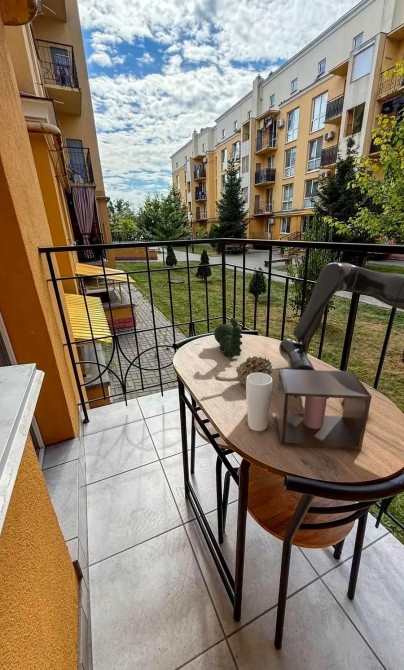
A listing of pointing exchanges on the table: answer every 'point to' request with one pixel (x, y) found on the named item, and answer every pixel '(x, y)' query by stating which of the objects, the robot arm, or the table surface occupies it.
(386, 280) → the robot arm
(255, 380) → the drinking glass
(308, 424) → the pink canister
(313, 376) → the cubby cabinet
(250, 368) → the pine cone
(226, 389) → the table surface
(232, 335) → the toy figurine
